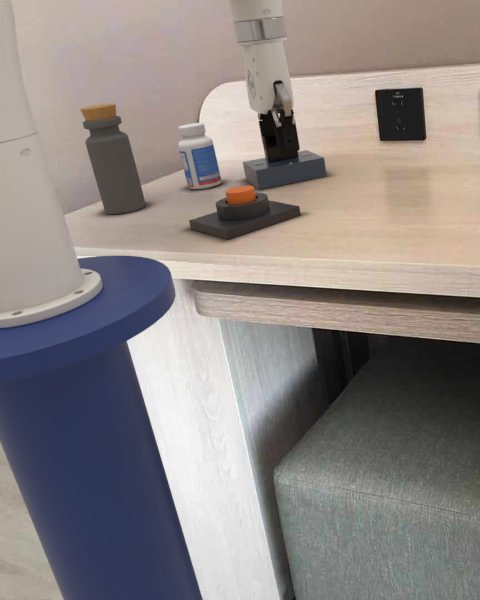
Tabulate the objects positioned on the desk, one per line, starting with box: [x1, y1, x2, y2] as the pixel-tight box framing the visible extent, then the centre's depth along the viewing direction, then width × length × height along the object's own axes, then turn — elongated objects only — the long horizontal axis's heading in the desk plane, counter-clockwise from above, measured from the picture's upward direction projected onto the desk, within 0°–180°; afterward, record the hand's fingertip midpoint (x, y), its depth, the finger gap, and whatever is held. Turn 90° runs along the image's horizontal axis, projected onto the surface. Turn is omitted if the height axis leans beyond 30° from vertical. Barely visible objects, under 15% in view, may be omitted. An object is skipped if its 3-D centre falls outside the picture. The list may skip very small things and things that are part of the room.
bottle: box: [79, 102, 147, 215], centre depth 99 cm, size 6×6×15 cm
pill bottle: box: [177, 122, 222, 190], centre depth 109 cm, size 6×5×10 cm
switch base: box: [188, 192, 301, 240], centre depth 87 cm, size 11×9×3 cm
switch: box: [224, 185, 256, 204], centre depth 86 cm, size 4×4×2 cm
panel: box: [242, 149, 328, 191], centre depth 109 cm, size 11×9×3 cm
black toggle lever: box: [261, 134, 299, 163], centre depth 108 cm, size 5×2×4 cm, turn 115°
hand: (280, 148), depth 108 cm, fingers open, 9 cm apart
